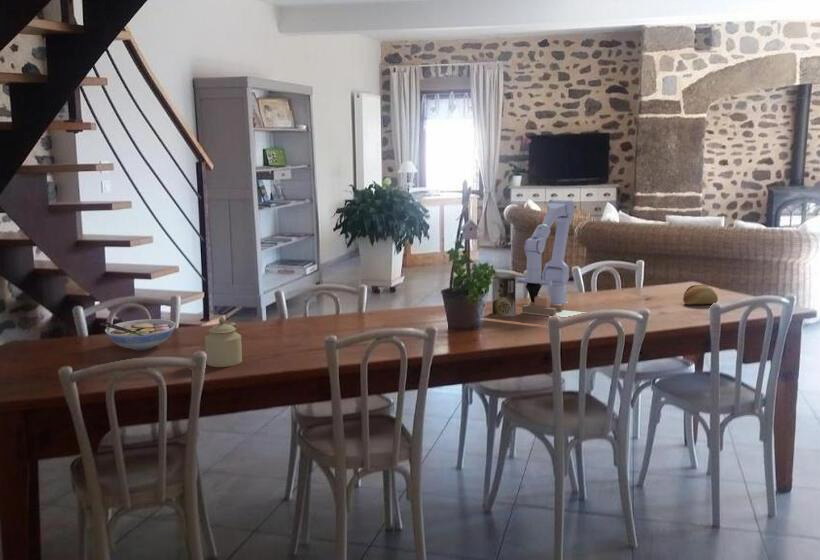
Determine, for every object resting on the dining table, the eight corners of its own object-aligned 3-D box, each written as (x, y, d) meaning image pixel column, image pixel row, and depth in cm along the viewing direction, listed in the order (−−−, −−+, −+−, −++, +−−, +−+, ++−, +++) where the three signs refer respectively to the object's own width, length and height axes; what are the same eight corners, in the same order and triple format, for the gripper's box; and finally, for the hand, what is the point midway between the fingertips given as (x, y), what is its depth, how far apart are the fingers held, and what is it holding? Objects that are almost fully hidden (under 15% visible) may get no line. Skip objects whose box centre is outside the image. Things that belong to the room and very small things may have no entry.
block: (538, 309, 302) (538, 295, 301) (550, 310, 300) (550, 296, 299) (534, 311, 298) (534, 297, 297) (546, 313, 296) (546, 298, 295)
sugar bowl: (204, 356, 245) (201, 311, 242) (239, 353, 248) (236, 308, 246) (207, 369, 231) (204, 321, 228) (244, 365, 234) (241, 318, 232)
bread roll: (676, 303, 317) (677, 284, 315) (708, 301, 320) (709, 282, 319) (690, 307, 307) (691, 288, 306) (722, 305, 311) (723, 286, 309)
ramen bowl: (192, 347, 256) (190, 323, 255) (129, 361, 240) (127, 336, 238) (154, 335, 273) (152, 313, 271) (92, 348, 256) (90, 325, 255)
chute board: (532, 309, 308) (533, 300, 307) (590, 315, 295) (590, 306, 295) (521, 315, 297) (521, 306, 297) (580, 321, 285) (580, 312, 285)
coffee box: (515, 315, 298) (515, 275, 295) (515, 318, 291) (516, 277, 288) (491, 314, 299) (492, 274, 296) (491, 318, 292) (492, 277, 289)
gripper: (513, 268, 298) (512, 302, 301) (547, 271, 291) (547, 305, 293) (520, 266, 304) (519, 298, 307) (554, 268, 297) (553, 302, 299)
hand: (533, 302), depth 300 cm, fingers closed
